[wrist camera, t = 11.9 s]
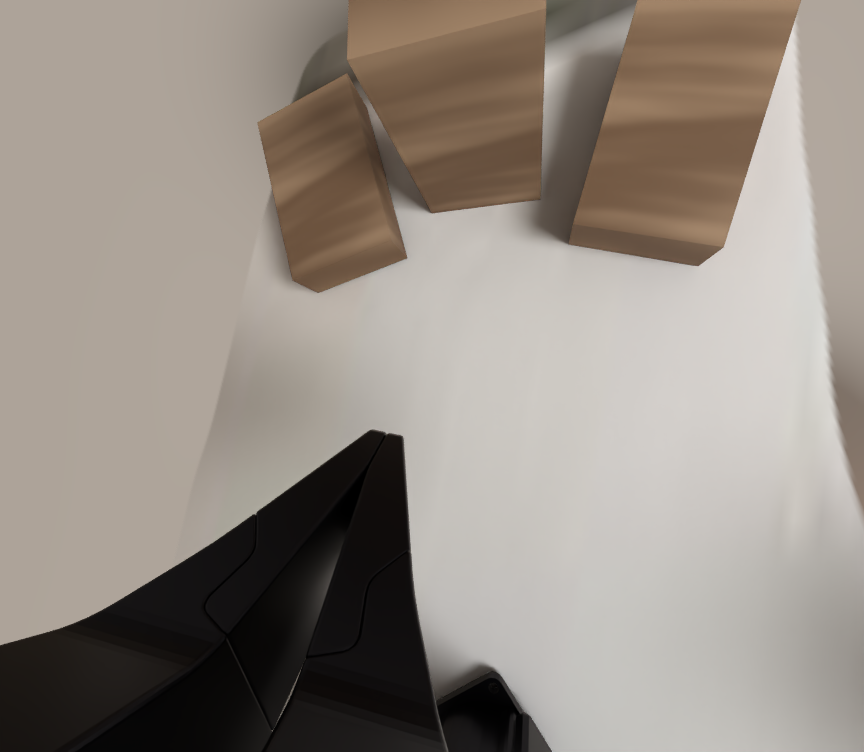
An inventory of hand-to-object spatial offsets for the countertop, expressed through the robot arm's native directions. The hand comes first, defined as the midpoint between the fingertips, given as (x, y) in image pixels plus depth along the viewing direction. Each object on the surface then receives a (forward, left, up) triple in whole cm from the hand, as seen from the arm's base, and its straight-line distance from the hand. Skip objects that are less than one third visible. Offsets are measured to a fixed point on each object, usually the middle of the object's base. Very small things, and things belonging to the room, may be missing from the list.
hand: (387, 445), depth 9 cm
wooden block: (+12, +2, -10) cm, 15 cm away
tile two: (0, +11, -10) cm, 14 cm away
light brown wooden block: (+8, +10, -11) cm, 17 cm away
